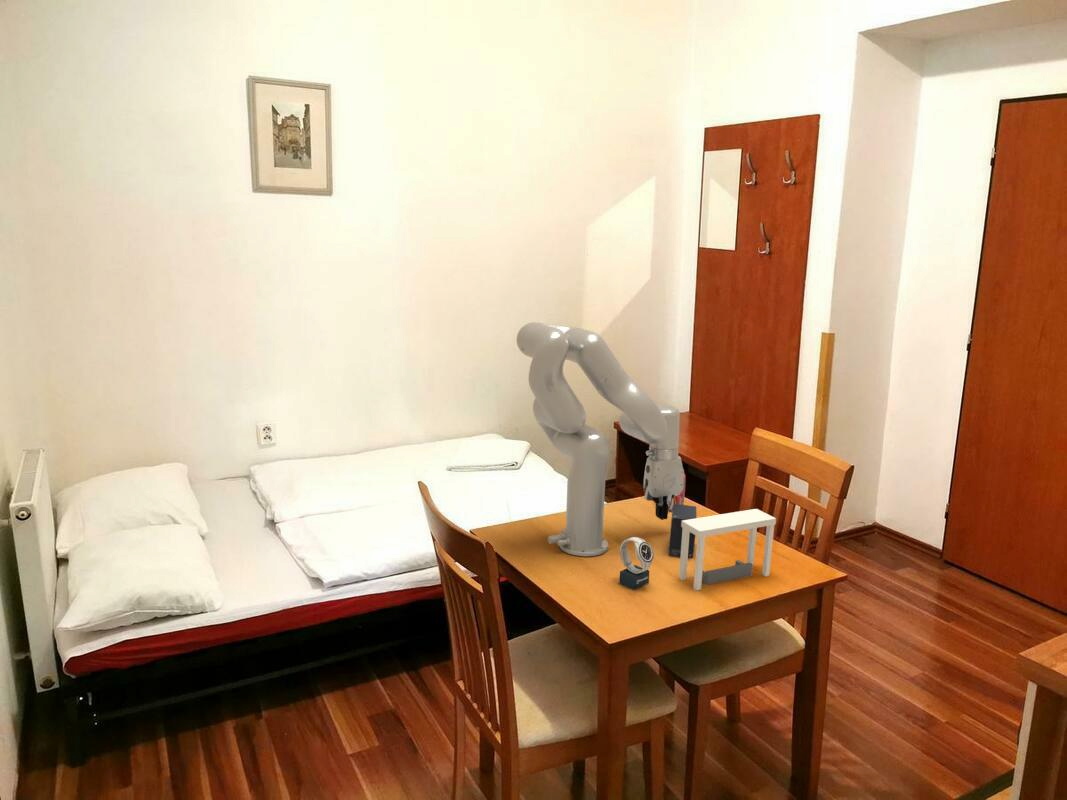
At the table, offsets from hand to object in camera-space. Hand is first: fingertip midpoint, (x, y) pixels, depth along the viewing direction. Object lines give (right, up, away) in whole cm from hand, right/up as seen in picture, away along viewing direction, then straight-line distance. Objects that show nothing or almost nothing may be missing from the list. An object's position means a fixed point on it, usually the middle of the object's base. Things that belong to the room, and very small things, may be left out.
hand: (661, 517), depth 216 cm
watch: (-11, -11, -29) cm, 33 cm away
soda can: (+6, 0, +21) cm, 21 cm away
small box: (+4, -7, -9) cm, 12 cm away
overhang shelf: (+11, -10, -25) cm, 29 cm away
